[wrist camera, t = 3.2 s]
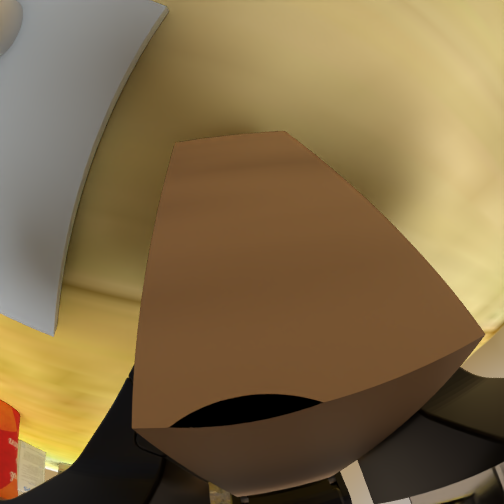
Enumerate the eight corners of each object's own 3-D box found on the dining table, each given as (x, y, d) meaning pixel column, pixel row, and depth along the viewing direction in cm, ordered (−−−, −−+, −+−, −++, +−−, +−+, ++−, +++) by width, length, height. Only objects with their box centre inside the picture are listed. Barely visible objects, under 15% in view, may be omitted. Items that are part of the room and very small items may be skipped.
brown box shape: (281, 322, 12) (330, 476, 7) (210, 333, 12) (235, 497, 6) (284, 131, 7) (485, 333, 2) (172, 142, 7) (121, 428, 2)
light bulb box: (22, 448, 32) (19, 490, 24) (-2, 435, 28) (-7, 479, 20) (47, 452, 32) (45, 500, 23) (20, 439, 28) (16, 490, 19)
